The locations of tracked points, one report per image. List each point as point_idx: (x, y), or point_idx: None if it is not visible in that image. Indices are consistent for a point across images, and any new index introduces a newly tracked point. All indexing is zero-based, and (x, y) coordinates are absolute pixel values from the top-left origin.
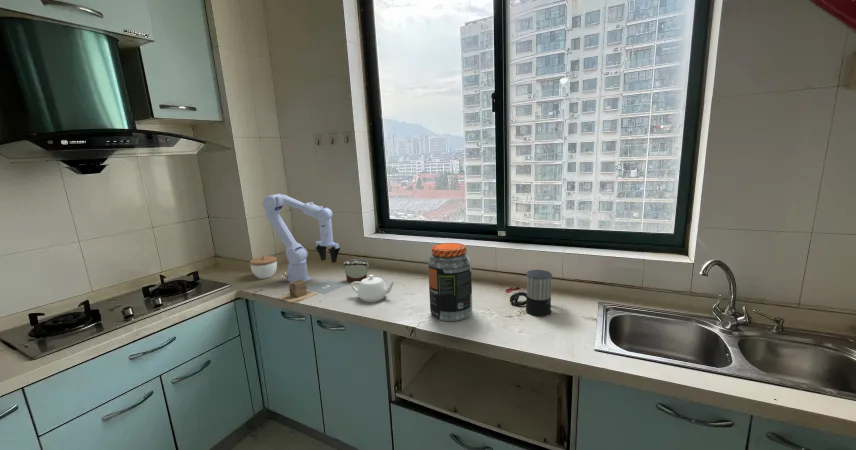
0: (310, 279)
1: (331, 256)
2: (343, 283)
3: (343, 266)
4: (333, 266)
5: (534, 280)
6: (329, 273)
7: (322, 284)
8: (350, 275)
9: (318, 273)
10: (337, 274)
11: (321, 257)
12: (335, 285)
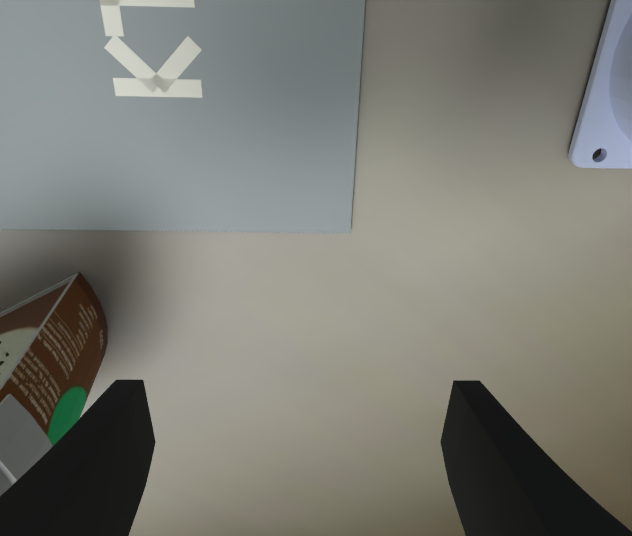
0: (573, 135)
1: (39, 493)
2: (72, 228)
3: (10, 403)
4: (594, 496)
5: None
6: (496, 372)
7: (269, 76)
8: (5, 342)
9: (620, 326)
10: (391, 385)
11: (481, 429)
12: (86, 134)
